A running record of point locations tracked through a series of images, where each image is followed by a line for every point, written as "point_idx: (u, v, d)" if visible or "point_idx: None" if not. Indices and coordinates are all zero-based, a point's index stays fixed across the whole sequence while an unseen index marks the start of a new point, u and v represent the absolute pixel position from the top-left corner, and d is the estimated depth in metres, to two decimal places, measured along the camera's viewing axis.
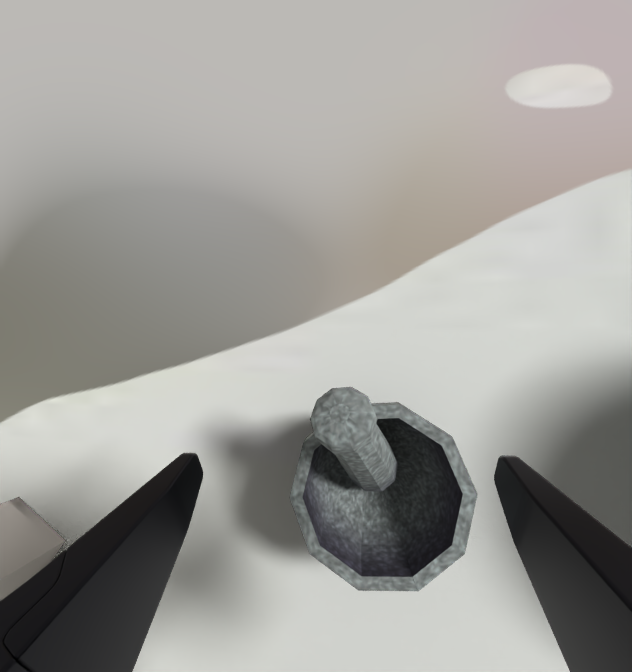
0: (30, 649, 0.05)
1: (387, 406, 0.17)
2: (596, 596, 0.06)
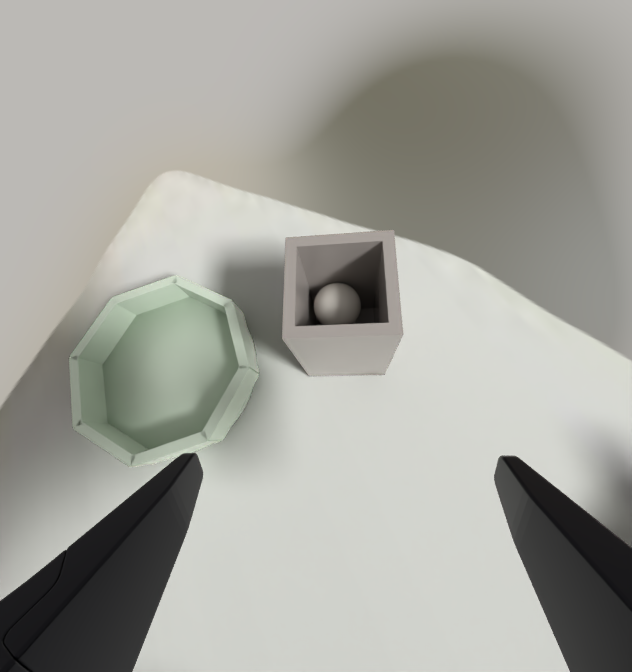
0: (30, 649, 0.05)
1: None
2: (596, 596, 0.06)
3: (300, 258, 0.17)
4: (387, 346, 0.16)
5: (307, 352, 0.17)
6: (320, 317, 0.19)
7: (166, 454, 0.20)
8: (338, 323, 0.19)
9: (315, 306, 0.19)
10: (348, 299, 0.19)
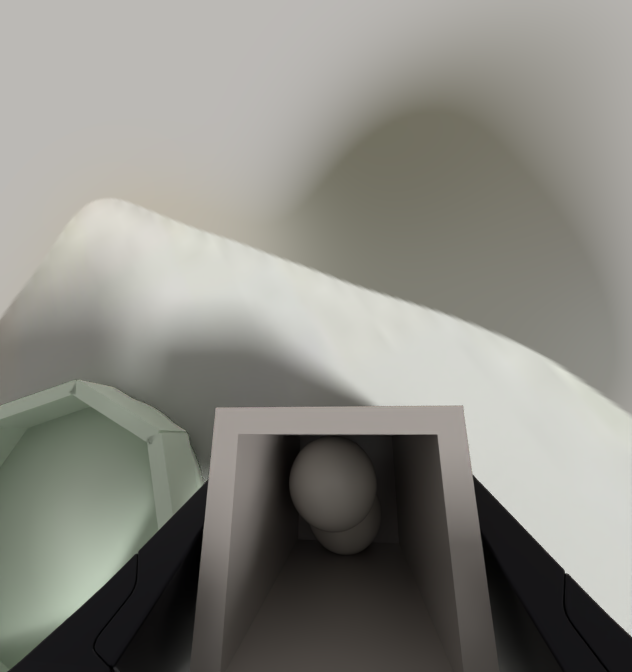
0: (120, 656, 0.05)
1: None
2: (500, 591, 0.06)
3: (253, 436, 0.08)
4: None
5: None
6: None
7: None
8: (334, 531, 0.10)
9: (291, 490, 0.10)
10: (353, 493, 0.09)
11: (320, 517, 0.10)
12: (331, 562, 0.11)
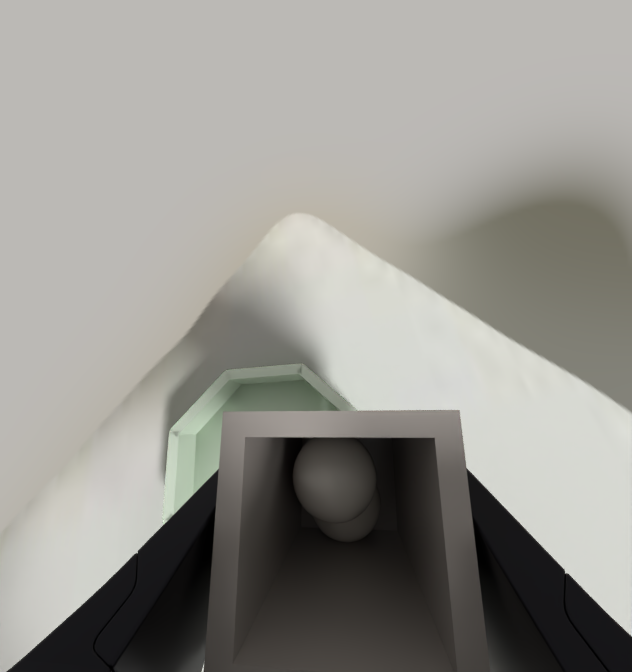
0: (120, 657, 0.05)
1: None
2: (501, 591, 0.06)
3: (259, 437, 0.09)
4: None
5: None
6: (303, 506, 0.11)
7: None
8: (336, 522, 0.10)
9: (294, 484, 0.11)
10: (354, 487, 0.10)
11: (322, 510, 0.10)
12: (333, 550, 0.12)
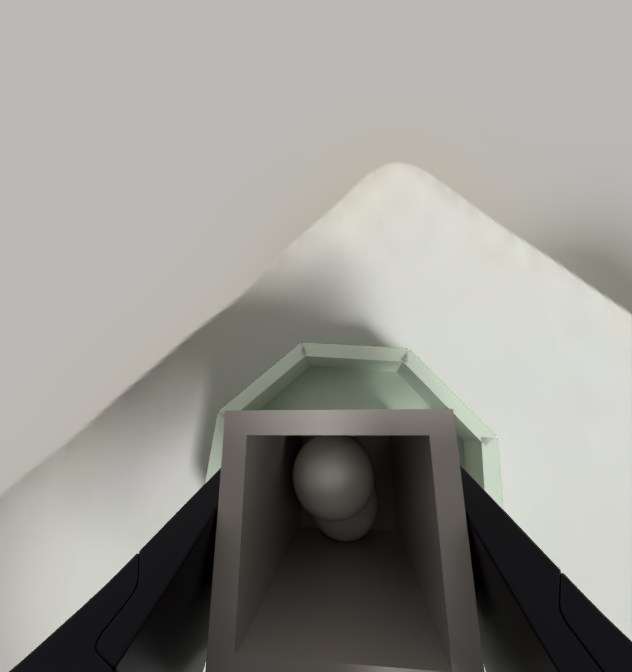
0: (122, 656, 0.05)
1: None
2: (497, 591, 0.06)
3: (259, 436, 0.09)
4: None
5: None
6: None
7: None
8: (335, 521, 0.11)
9: (294, 483, 0.11)
10: (352, 486, 0.10)
11: (322, 508, 0.10)
12: (332, 548, 0.12)
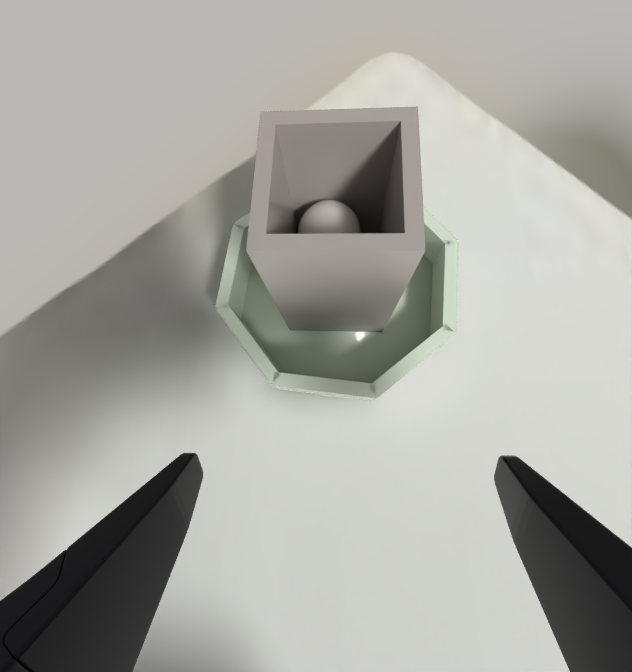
0: (30, 648, 0.05)
1: None
2: (596, 596, 0.06)
3: (281, 150, 0.12)
4: (396, 277, 0.12)
5: (285, 284, 0.13)
6: None
7: (318, 390, 0.16)
8: None
9: (300, 230, 0.15)
10: (344, 220, 0.14)
11: None
12: None
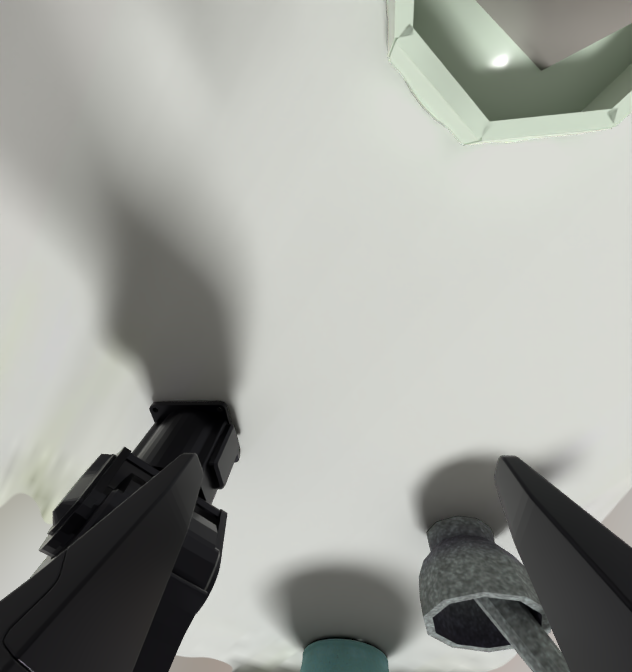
0: (30, 649, 0.05)
1: None
2: (596, 596, 0.06)
3: None
4: None
5: None
6: None
7: (436, 88, 0.13)
8: None
9: None
10: None
11: None
12: None
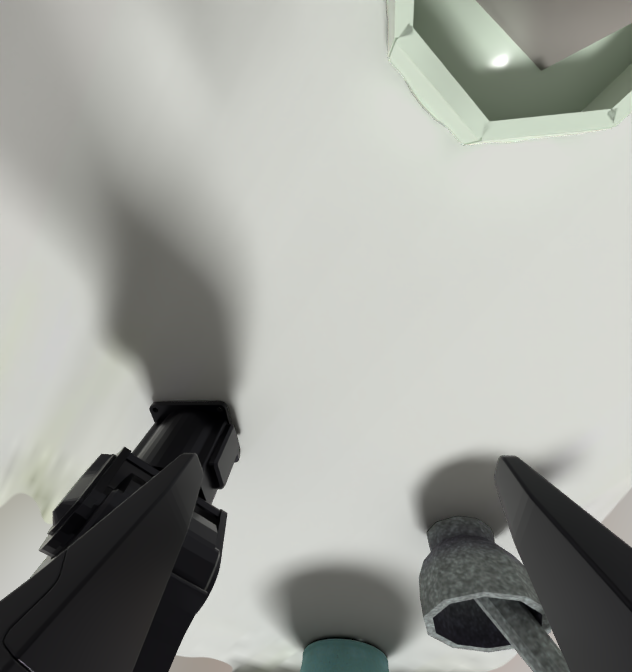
0: (30, 649, 0.05)
1: None
2: (596, 596, 0.06)
3: None
4: None
5: None
6: None
7: (436, 88, 0.13)
8: None
9: None
10: None
11: None
12: None
